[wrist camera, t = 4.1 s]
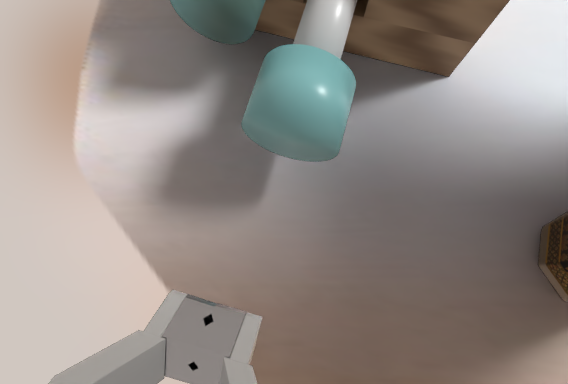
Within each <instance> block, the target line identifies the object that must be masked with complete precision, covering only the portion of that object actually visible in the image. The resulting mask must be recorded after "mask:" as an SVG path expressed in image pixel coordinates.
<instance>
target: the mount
mask: <svg viewBox="0 0 568 384" xmlns="http://www.w3.org/2000/svg"><path fill="white" fill-rule="evenodd" d="M509 1H510V0H357V3H356V7H355V10H354V14H353V17H352V21H351V24H350V28H349V31H348V35H347V39H346V42H345V46H344V49H343V51H345V52H349V53H353V54H357V55H361V56H365V57H370V58H374V59H378V60H382V61H386V62H390V63H394V64H398V65H403V66H407V67H411V68H415V69H419V70H423V71H427V72H431V73H436V74H440V75H444V76H448V77H449V76H450V75H451V73H452V72H453V71H454V70H455V68H456V67H457V66H458V65H459V63H460V62H461V61H462V60H463V58H464V57H465V56H466V55H467V53H468V52H469V51H470V50H471V48H472V47H473V46H474V45H475V43H476V42H477V41H478V40H479V38H480V37H481V36H482V35H483V33H484V32H485V31H486V30H487V28H488V27H489V26H490V24H491V23H492V22H493V21H494V19H495V18H496V17H497V16H498V14H499V13H500V12H501V11H502V9H503V8H504V7H505V6H506V4H507V3H508V2H509ZM170 2H171V4H172V6H173V8H174V9H175V11H176V12H177V14H178V15H179V16H180V17H181V18H182V20H183V21H184V22H185V23H186V24H188V25H189V26H190V27H191V28H192V29H194V30H195V31H197V32H198V33H200V34H201V35H203V36H205V37H207V38H209V39H211V40H214V41H217V42H221V43H226V44H239V43H242V42H245V41H247V40H248V39H249V38H250V37H251V36H252V35H253V33H254V30H258V31H262V32H267V33H271V34H275V35H279V36H283V37H287V38H291V39H295V36H296V33H297V30H298V27H299V24H300V21H301V18H302V15H303V12H304V9H305V6H306V3H307V0H170Z"/></svg>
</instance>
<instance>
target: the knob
mask: <svg viewBox="0 0 568 384" xmlns="http://www.w3.org/2000/svg"><path fill="white" fill-rule="evenodd" d="M356 3H357V0H307V3H306V6H305V9H304V12H303V15H302V18H301V21H300V24H299V27H298V30H297V33H296V36H295V39H294V42H293V44H289V45H283V46H279V47H276V48H274V49H273V50H271V51H270V52H269V53H267V55H266V56H265V58H264V60H263V63H262V66H261V68H260V71H259V74H258V77H257V80H256V83H255V85H254V88H253V91H252V94H251V97H250V100H249V102H248V105H247V108H246V111H245V114H244V117H243V119H242V123H241V125H242V129H243V131H244V132H245V134H246V135H247V136H248V137H249V138H250V139H251V140H252V141H254V142H255V143H257V144H258V145H260V146H261V147H263V148H265V149H267V150H269V151H271V152H273V153H276V154H278V155H281V156H284V157H288V158H292V159H296V160H302V161H310V162H319V161H327V160H330V159H333V158H334V157H336V156H337V155H338V153H339V150H340V146H341V143H342V139H343V135H344V131H345V127H346V124H347V120H348V116H349V112H350V108H351V104H352V101H353V97H354V93H355V89H356V80H355V77H354V74H353V73H352V71H351V69H350V68H349V67H348V66H347V65H346V64H345V63H344V62H343V61H342V60H341V56H342V53H343V49H344V46H345V42H346V39H347V35H348V31H349V28H350V24H351V21H352V17H353V14H354V10H355V7H356Z"/></svg>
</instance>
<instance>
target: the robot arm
mask: <svg viewBox="0 0 568 384" xmlns="http://www.w3.org/2000/svg"><path fill="white" fill-rule="evenodd" d="M261 322H262V316H258V315H255V314H252V313H248V312H246V311H243V310H239V309H236V308H232V307H229V306H226V305H222V304H219V303H217V304H216V303H213V302H210V301H207V300H204V299H201V298H198V297H195V296H192V295H189V294H186V293H183V292H180V291H177V290H172V291H171V292H170V293H169V294H168V295H167V297H166V299H165V300H164V301H163V303H162V304H161V306H160V307H159V309H158V310H157V312H156V313H155V315H154V316H153V318H152V319H151V321H150V322H149V324H148V325H147V327H146V328H145V330H144V331H140V330H138V331H136V332H135V333H133V334H131V335H129V336H127V337H125V338H123V339H122V340H120V341H118V342H116V343H114V344H112V345H111V346H109V347H107V348H105V349H103V350H101V351H99V352H98V353H96V354H94V355H92V356H90V357H88V358H87V359H85V360H83V361H81V362H79V363H78V364H76V365H74V366H72V367H70V368H68V369H66V370H65V371H63V372H61V373H59V374H57V375H55V376H54V377H53V379H52V380H51V381H50V382H49V383H48V384H157V383H159V382H160V381H161V380H163V379H164V376H166V377H170V378H173V379H176V380H180V381H183V382H187V383H190V384H257V380H256V377H255V373H254V370H253V366H251V365H250V363H251V360H252V356H253V352H254V349H255V345H256V341H257V337H258V333H259V329H260V325H261Z"/></svg>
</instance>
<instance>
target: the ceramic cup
mask: <svg viewBox="0 0 568 384" xmlns="http://www.w3.org/2000/svg"><path fill="white" fill-rule="evenodd" d="M538 266H539V267H540V269H541V270H542V272H543V273H544V274H545V276H546V277H547V279H548V280H549V281H550V283H551V284H552V286H553V287H554V288H555V290H556V291H557V293H558V294H559V295H560V297H561V298H562V299H563V300H564V301H566V302H568V212H566V213H565V214H563V215H561V216H560V217H558V218H556V219H555V220H553V221H551V222H550V223H548V224H546V225H545V226H543V228H542V230H541V238H540V249H539V259H538Z"/></svg>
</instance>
